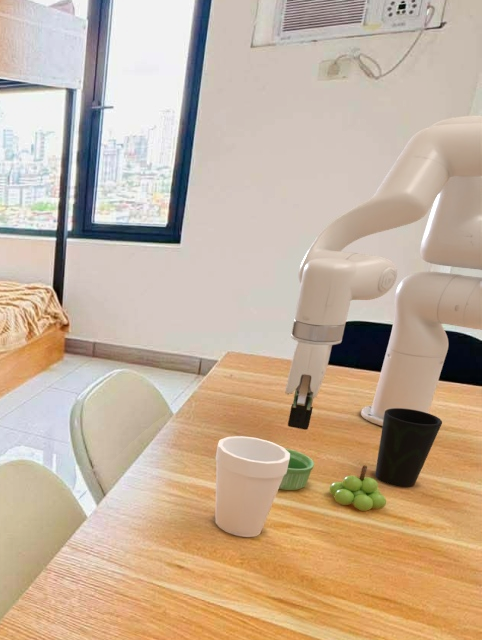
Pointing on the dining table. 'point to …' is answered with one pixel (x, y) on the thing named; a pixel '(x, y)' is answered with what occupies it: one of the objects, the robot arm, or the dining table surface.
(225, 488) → the foam cup
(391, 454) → the cup
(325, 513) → the dining table surface
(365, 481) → the grapes
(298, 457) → the ramekin
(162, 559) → the dining table surface
